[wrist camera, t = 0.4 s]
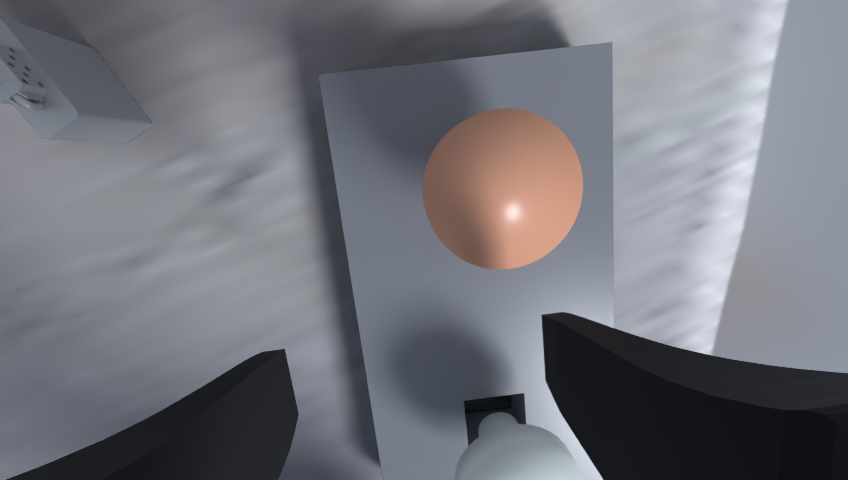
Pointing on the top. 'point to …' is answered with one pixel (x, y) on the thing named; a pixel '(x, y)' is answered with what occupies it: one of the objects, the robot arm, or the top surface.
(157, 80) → the top surface
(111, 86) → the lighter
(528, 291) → the block
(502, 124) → the orange-brown rounded piece
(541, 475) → the sage plunger
